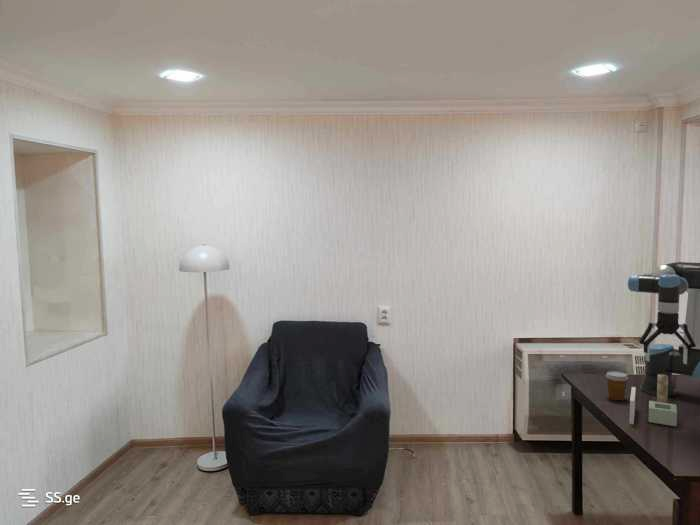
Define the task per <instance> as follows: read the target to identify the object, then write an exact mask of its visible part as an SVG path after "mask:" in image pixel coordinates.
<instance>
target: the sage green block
mask: <svg viewBox="0 0 700 525" xmlns="http://www.w3.org/2000/svg"><path fill="white" fill-rule="evenodd" d="M677 409H678V408H677V404H675V403H668V402H667V403H662V402H657V401H655V400H654V401H653V400H648V423H653V424H659V425H665V426H671V427H677V425H678V424H677V423H678V410H677Z"/></svg>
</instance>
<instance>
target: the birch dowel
mask: <svg viewBox="0 0 700 525" xmlns="http://www.w3.org/2000/svg"><path fill="white" fill-rule="evenodd" d="M668 397H669V396H668V376H667V375H664V374H658V381H657V395H656V402H662V403H668Z"/></svg>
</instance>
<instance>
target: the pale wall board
mask: <svg viewBox="0 0 700 525" xmlns="http://www.w3.org/2000/svg"><path fill="white" fill-rule="evenodd" d="M636 389H637V388H636V386H631V391H630V399H629V418H628V419H629V422H628V423H629V425H634V424H635V423H634V422H635V412H636V392H637V390H636Z"/></svg>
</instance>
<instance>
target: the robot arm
mask: <svg viewBox="0 0 700 525" xmlns="http://www.w3.org/2000/svg"><path fill="white" fill-rule="evenodd" d="M627 288H628V290H629V291H630V292H635V293H645V294H646V293H647V294H656V295H657V294H658V298H657V311H658V312H657V315H656V316H657V317H656V318H657V321H656V322H651V321H649V322H648V323H647V328H646V329H645V331H644V333H643V334H642V336H641V337H640V338H639V340H638V343H639V344H641V345H643V353H644V356H645V358H644V359H645V360H644V361H645V362H644V375H643V378H642V381H641V383H640V385H639V388H640V391H641V390H642V391H641V392H643V391H644V392H643V393H645V392H646V394H647V395H648V394H649V395H652V396H657V381H658V374H664V375H667V376H668V396H667V397H674V396H676V394H677V388H676V385H675V382H674V378H673V375H674V374H675V375H679V376H686V377H691V378H698V379H700V262H687V261H686V262H684V261H676V262H670V263H666V264H663V265H660V266H658V267H657V268H656V269H655V270H652V271H650V272H648V273H645V274H641V275H640V274H631V275H630V276H629V278H628V279H627ZM684 293H687V300H686V301H687V302H686V303H687V304H686V311H685V321H684V323H682V324H680V323H679V319H680V318H679V316H680V315H679V311H680V295H683V294H684ZM655 327H656V328H657V329H656V330H655V332H654V333H653V334H651V335H650V336H649V334H650V333H651V332H652V330H653V329H654V328H655ZM679 329H681V330H683V336H682V335H681V334H680V333H679V331H678V330H679ZM661 334H663V335H670V336H671V335H675V336H676V337H677V338H678V339H679V340H680V341H681V342H682V343H681V344H680V345H678V349H675V347H674V345H672V344H668V343H655V344H651V343H652V342H653V341H654V340H655V339H656V338H657V337H658V336H660V335H661ZM648 336H649V337H648Z"/></svg>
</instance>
